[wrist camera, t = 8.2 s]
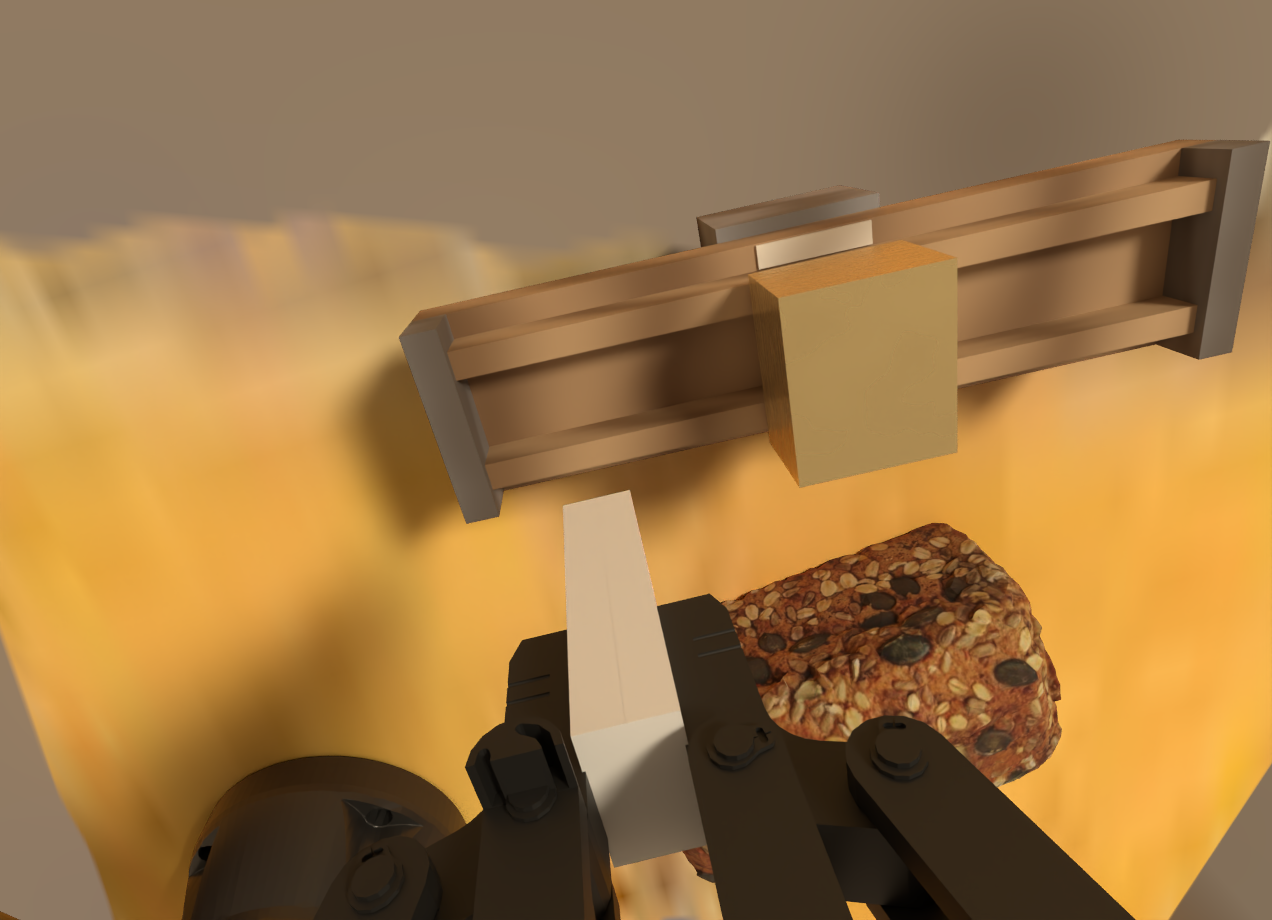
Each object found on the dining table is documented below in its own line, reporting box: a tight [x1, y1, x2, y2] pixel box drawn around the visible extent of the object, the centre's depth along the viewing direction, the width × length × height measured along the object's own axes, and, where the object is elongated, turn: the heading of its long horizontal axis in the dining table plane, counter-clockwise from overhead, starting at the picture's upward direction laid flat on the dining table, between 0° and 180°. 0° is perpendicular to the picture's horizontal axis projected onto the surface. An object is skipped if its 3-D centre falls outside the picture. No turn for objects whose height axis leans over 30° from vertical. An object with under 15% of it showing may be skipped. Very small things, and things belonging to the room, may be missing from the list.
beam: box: [399, 140, 1270, 524], centre depth 27 cm, size 28×8×8 cm, turn 102°
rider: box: [748, 240, 957, 488], centre depth 23 cm, size 5×6×5 cm
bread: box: [683, 523, 1062, 883], centre depth 34 cm, size 19×11×10 cm, turn 111°
